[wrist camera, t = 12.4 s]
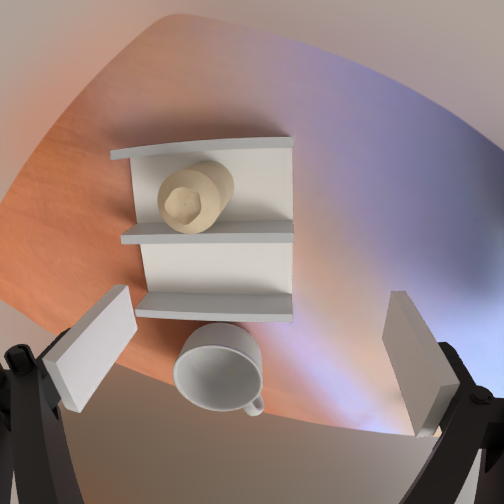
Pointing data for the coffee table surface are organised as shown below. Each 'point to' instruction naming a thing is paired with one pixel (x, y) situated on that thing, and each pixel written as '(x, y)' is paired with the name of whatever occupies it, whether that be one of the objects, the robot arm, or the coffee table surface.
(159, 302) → the slot rack
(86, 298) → the coffee table surface
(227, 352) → the teacup
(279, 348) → the coffee table surface
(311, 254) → the coffee table surface
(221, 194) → the candle
